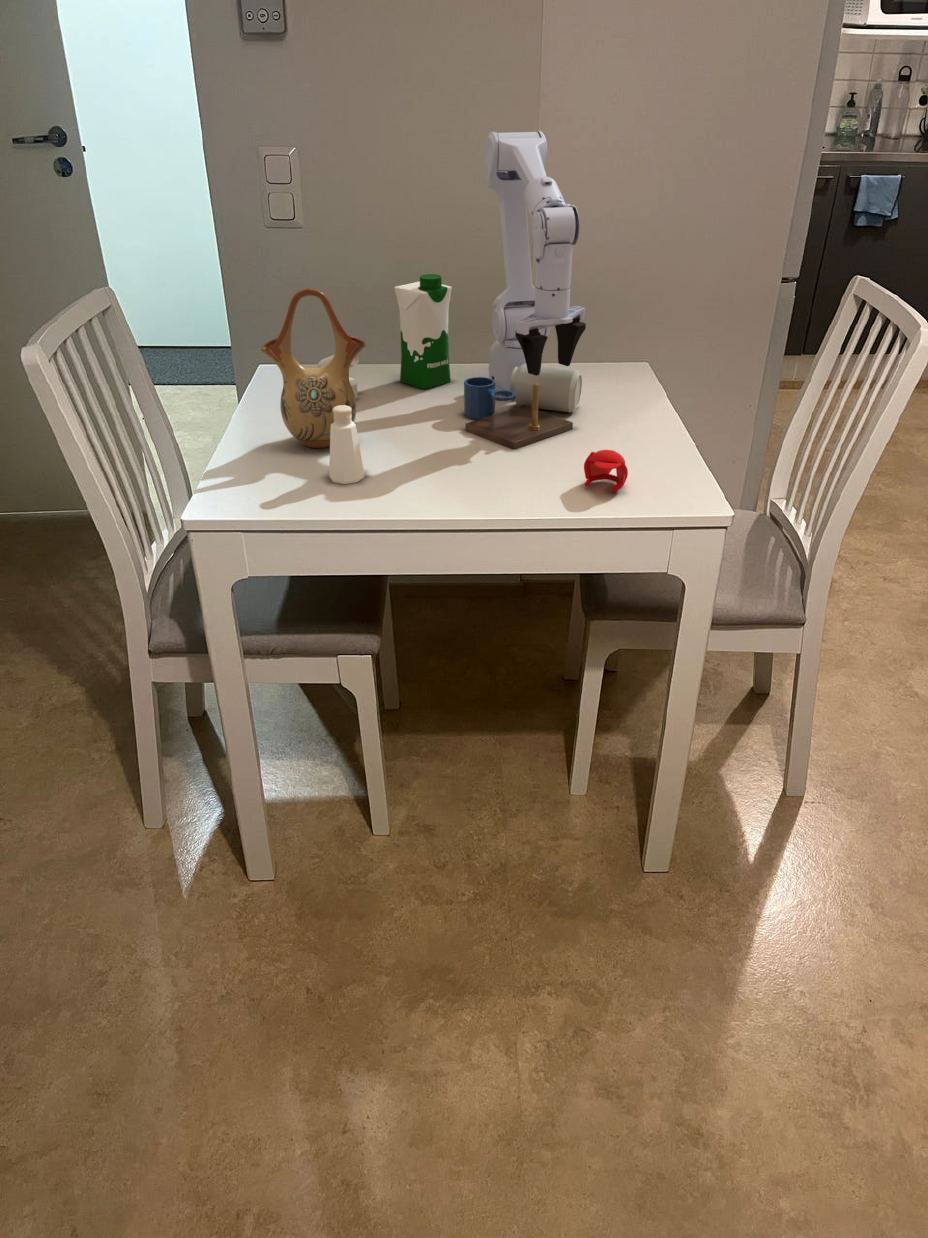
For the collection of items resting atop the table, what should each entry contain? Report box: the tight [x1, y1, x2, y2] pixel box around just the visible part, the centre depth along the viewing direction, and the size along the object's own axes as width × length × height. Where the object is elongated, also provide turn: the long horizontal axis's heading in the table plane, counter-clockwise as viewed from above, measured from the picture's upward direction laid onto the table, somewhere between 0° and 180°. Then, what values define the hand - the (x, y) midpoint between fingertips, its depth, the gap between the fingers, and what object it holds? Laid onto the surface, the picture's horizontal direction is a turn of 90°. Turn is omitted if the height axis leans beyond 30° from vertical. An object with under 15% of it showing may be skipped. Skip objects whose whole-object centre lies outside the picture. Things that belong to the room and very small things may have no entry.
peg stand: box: [464, 383, 574, 450], centre depth 161 cm, size 12×14×9 cm
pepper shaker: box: [328, 405, 366, 485], centre depth 143 cm, size 5×5×11 cm
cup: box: [463, 376, 516, 420], centre depth 166 cm, size 11×5×6 cm, turn 42°
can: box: [509, 364, 583, 413], centre depth 170 cm, size 8×8×12 cm
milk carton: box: [393, 273, 453, 390], centre depth 180 cm, size 9×9×20 cm
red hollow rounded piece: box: [583, 449, 629, 493], centre depth 141 cm, size 8×6×6 cm
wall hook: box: [316, 353, 360, 400], centre depth 176 cm, size 9×10×10 cm
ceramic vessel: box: [259, 287, 367, 449], centre depth 151 cm, size 16×9×25 cm, turn 99°
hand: (549, 369), depth 162 cm, fingers open, 7 cm apart
